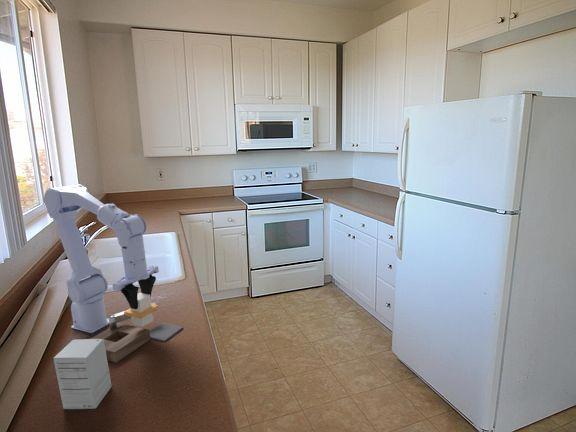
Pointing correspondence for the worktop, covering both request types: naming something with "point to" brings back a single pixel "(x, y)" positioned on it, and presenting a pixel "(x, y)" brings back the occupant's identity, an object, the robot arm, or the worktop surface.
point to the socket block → (122, 340)
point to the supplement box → (82, 373)
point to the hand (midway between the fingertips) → (140, 304)
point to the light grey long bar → (119, 318)
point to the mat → (164, 331)
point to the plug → (142, 310)
